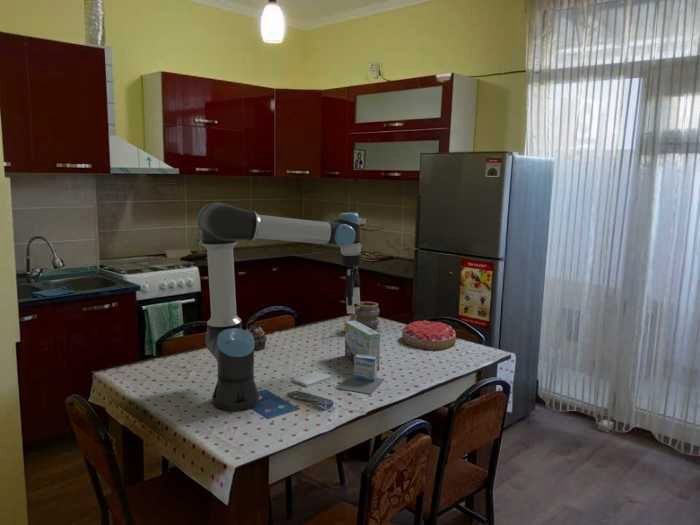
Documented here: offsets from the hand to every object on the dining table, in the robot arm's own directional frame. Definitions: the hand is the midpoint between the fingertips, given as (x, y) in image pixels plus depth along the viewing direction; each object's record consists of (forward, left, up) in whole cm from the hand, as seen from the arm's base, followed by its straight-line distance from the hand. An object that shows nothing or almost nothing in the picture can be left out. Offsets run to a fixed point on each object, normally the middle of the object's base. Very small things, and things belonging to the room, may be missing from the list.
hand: (353, 308), depth 214 cm
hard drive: (-16, +10, -26) cm, 32 cm away
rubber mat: (-12, -8, -25) cm, 29 cm away
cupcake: (+9, +48, -25) cm, 55 cm away
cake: (+53, -19, -25) cm, 62 cm away
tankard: (+53, +15, -25) cm, 60 cm away
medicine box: (-7, -8, -25) cm, 27 cm away
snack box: (+11, 0, -25) cm, 27 cm away
